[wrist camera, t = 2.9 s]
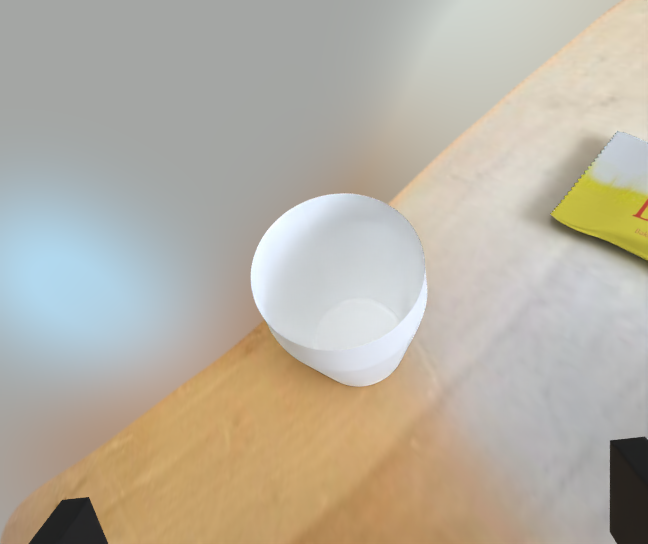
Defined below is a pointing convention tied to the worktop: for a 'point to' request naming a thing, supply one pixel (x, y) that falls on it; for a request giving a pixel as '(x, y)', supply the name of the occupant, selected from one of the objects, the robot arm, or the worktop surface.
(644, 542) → the robot arm
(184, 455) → the worktop surface
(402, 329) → the cup
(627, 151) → the food package
